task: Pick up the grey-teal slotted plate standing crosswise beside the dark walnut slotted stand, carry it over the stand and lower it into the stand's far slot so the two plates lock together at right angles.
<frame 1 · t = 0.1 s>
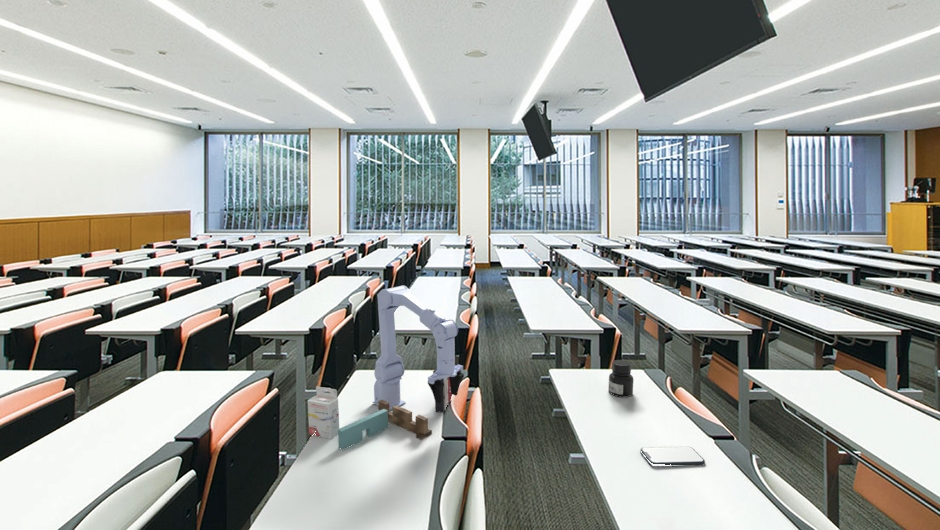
hand: (446, 398, 160), 10 cm above the table, tool pointing down, fingers open, 7 cm apart
teal plate: (364, 437, 155), on the table
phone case: (671, 459, 143), on the table
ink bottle: (620, 393, 188), on the table
walnut stand: (402, 426, 162), on the table
dark grey box: (443, 406, 178), on the table
ink cartridge box: (324, 434, 158), on the table
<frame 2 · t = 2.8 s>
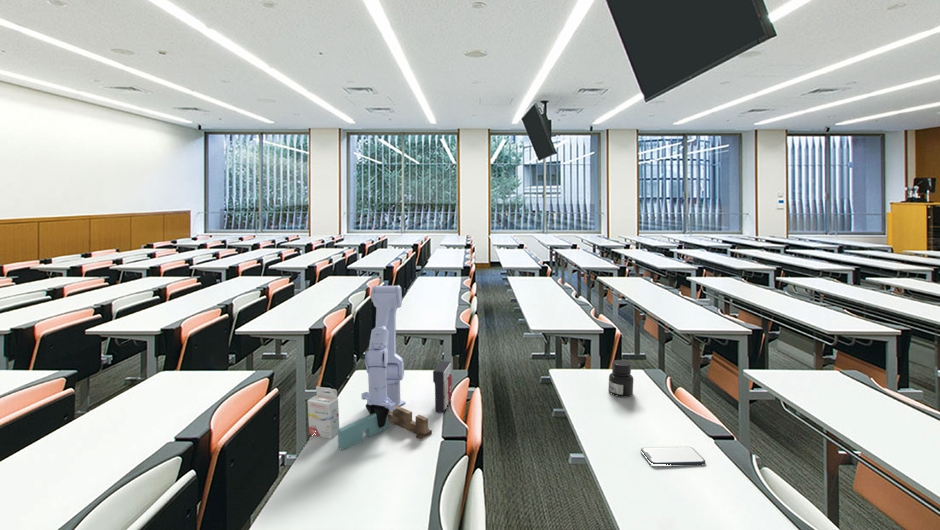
hand: (379, 425, 160), 2 cm above the table, tool pointing down, fingers closed on teal plate, 2 cm apart
teal plate: (364, 437, 155), on the table, touching gripper
everything else where it was.
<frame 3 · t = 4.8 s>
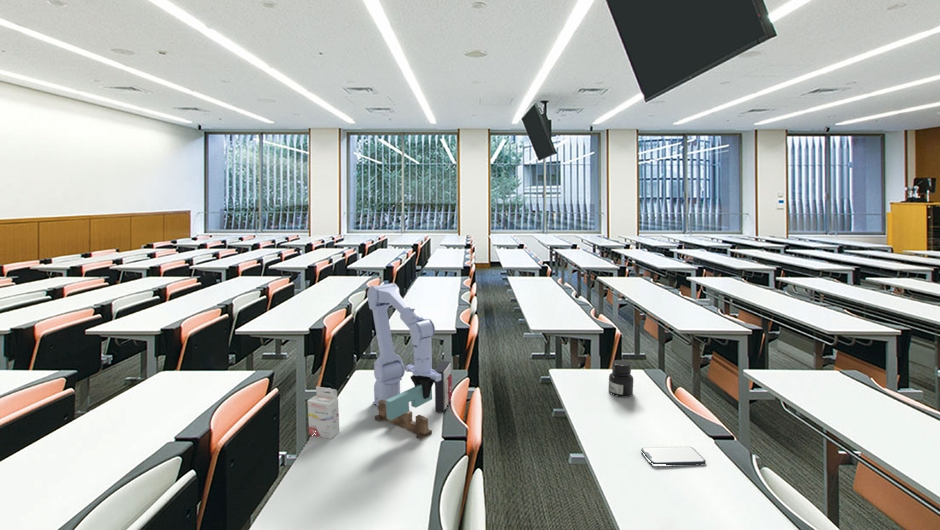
hand: (423, 396, 162), 10 cm above the table, tool pointing down, fingers closed on teal plate
teal plate: (410, 408, 157), point 8 cm above the table, touching gripper
everything else where it was.
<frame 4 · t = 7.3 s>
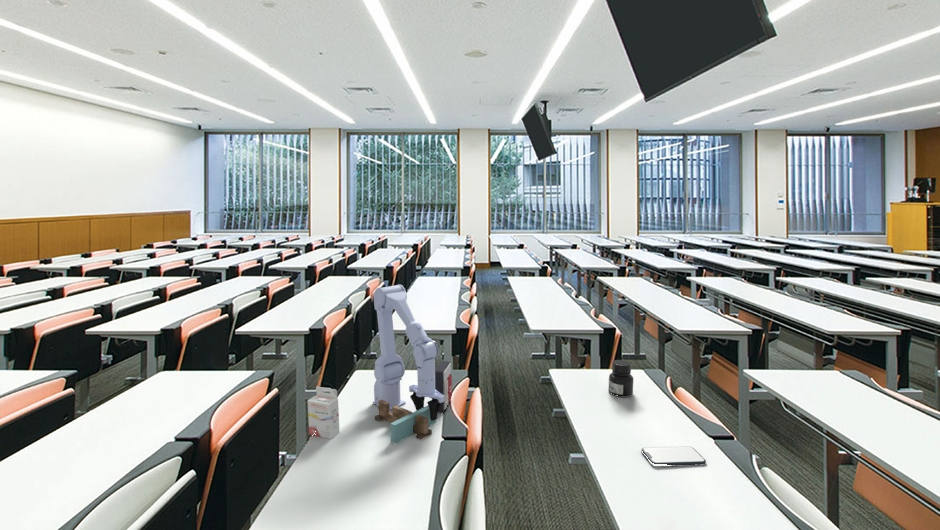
hand: (427, 417, 163), 3 cm above the table, tool pointing down, fingers open, 6 cm apart
teal plate: (414, 431, 159), on the table, touching walnut stand
everything else where it was.
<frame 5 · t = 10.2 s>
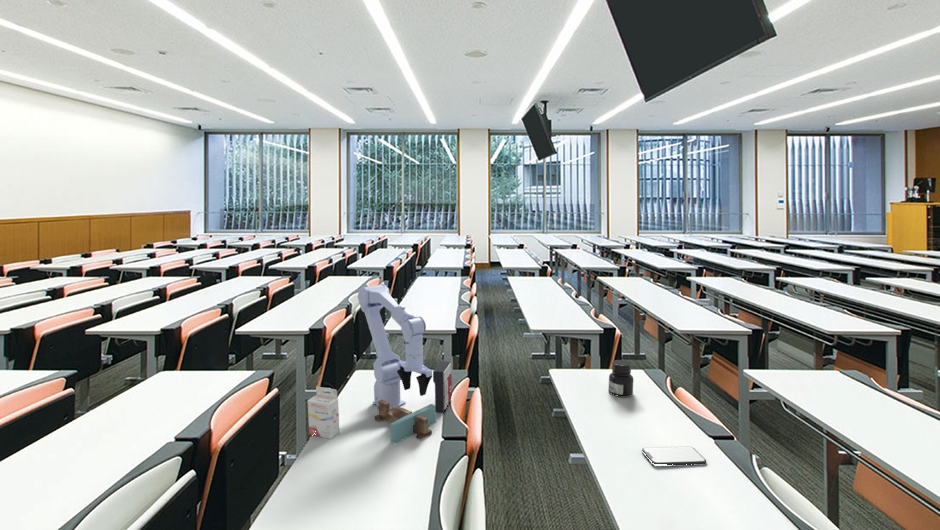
hand: (415, 391, 167), 9 cm above the table, tool pointing down, fingers open, 7 cm apart
nothing on the table moved.
at the end: teal plate 0.0 cm from the target spot on the walnut stand, point 0.0 cm above the walnut stand's base; teal plate tilted 0°; the gripper is holding nothing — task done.
